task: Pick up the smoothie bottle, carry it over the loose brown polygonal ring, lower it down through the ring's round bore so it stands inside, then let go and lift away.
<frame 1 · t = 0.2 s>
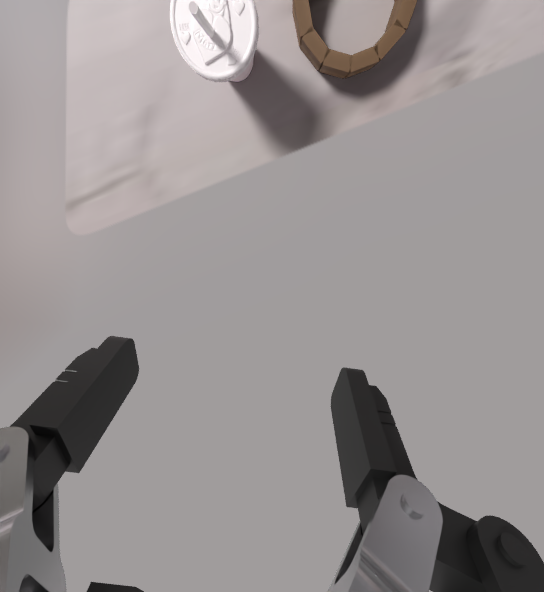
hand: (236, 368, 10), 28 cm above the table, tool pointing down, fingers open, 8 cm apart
smoothie: (236, 59, 28), on the table
brown polygonal ring: (349, 6, 25), on the table
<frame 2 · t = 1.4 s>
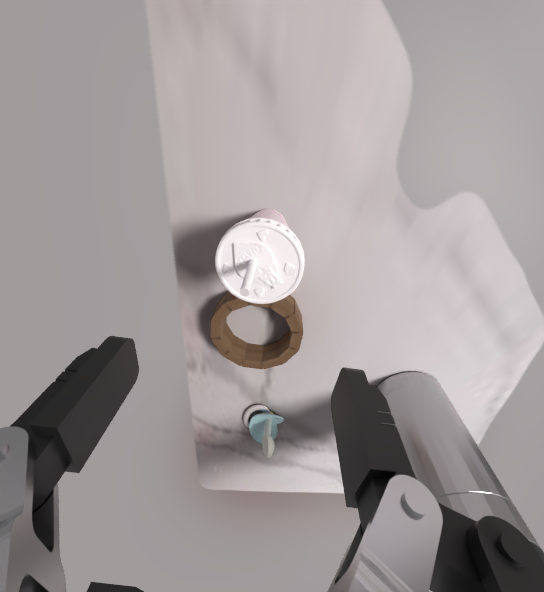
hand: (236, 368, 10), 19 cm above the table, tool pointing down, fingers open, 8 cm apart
pacifier: (262, 414, 43), on the table
smoothie: (268, 226, 27), on the table
brown polygonal ring: (258, 320, 33), on the table
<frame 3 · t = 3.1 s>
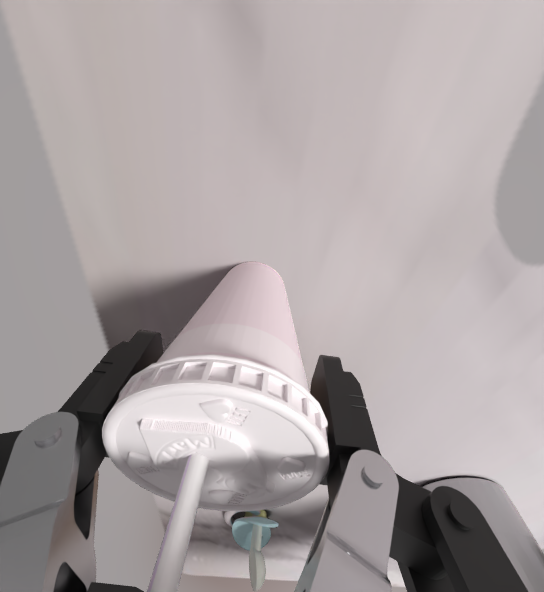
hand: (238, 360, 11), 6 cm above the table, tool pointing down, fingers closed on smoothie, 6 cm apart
pacifier: (250, 510, 32), on the table
smoothie: (254, 289, 16), on the table, touching gripper
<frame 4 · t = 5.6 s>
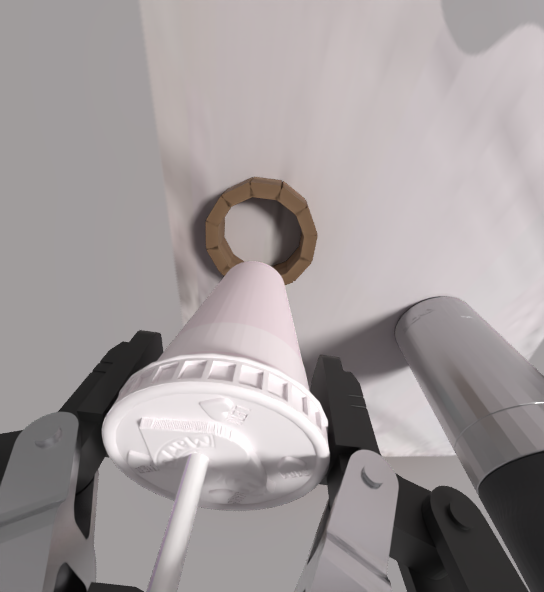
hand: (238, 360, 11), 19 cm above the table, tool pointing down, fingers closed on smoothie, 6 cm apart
smoothie: (254, 288, 16), point 13 cm above the table, touching gripper
brown polygonal ring: (262, 232, 28), on the table
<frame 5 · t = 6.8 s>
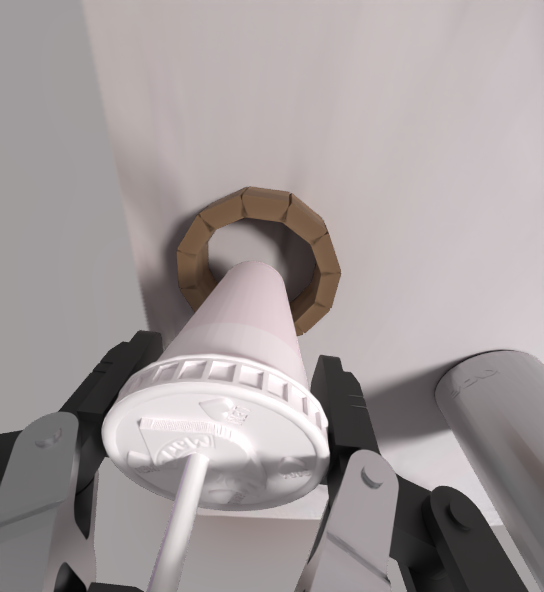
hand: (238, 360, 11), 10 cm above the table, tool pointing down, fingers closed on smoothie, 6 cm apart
smoothie: (254, 288, 16), point 5 cm above the table, touching gripper
brown polygonal ring: (261, 262, 20), on the table
when the fingers open (7 cm above the table, at t = 8.0 s): smoothie drops 1 cm, resting in brown polygonal ring.
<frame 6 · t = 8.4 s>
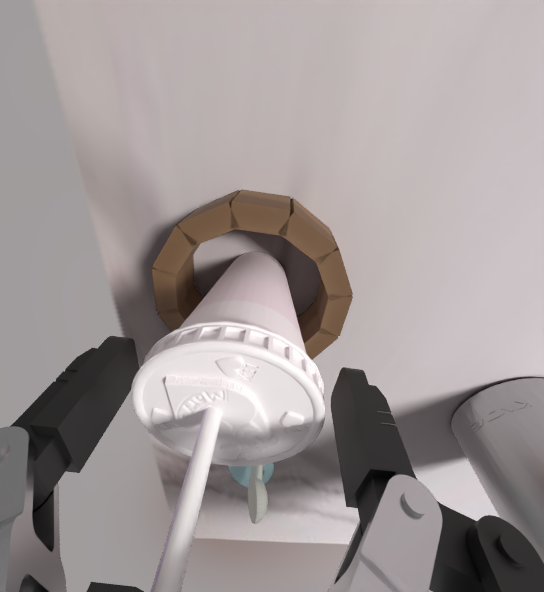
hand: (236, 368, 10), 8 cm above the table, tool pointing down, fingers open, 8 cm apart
pacifier: (249, 440, 27), on the table
smoothie: (257, 277, 17), resting in brown polygonal ring
brown polygonal ring: (256, 278, 17), on the table
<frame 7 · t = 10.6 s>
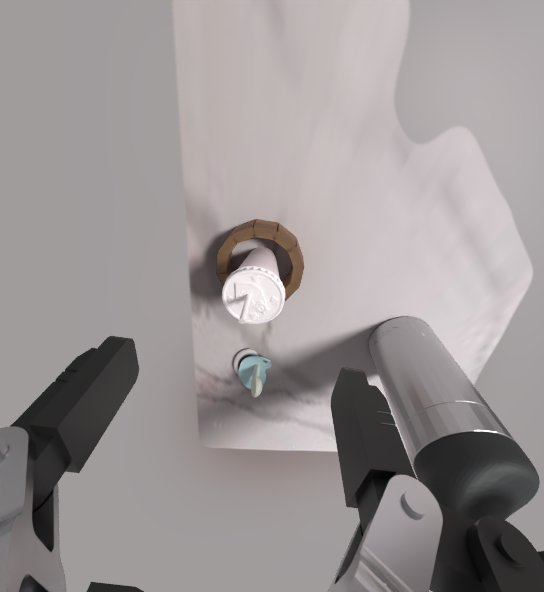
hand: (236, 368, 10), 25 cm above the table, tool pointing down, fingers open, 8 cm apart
pacifier: (252, 361, 44), on the table
smoothie: (262, 259, 35), resting in brown polygonal ring
brown polygonal ring: (261, 260, 35), on the table
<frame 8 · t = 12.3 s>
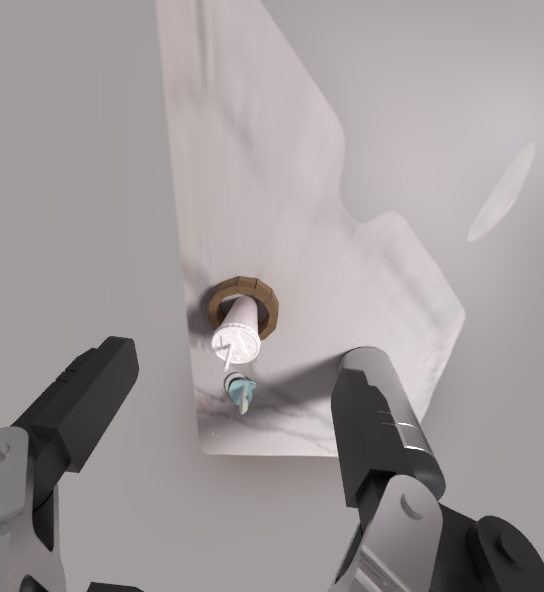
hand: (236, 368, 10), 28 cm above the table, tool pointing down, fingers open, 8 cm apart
pacifier: (240, 382, 52), on the table
smoothie: (245, 305, 43), resting in brown polygonal ring
brown polygonal ring: (245, 305, 43), on the table
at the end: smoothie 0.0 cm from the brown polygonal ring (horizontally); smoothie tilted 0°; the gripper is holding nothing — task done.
